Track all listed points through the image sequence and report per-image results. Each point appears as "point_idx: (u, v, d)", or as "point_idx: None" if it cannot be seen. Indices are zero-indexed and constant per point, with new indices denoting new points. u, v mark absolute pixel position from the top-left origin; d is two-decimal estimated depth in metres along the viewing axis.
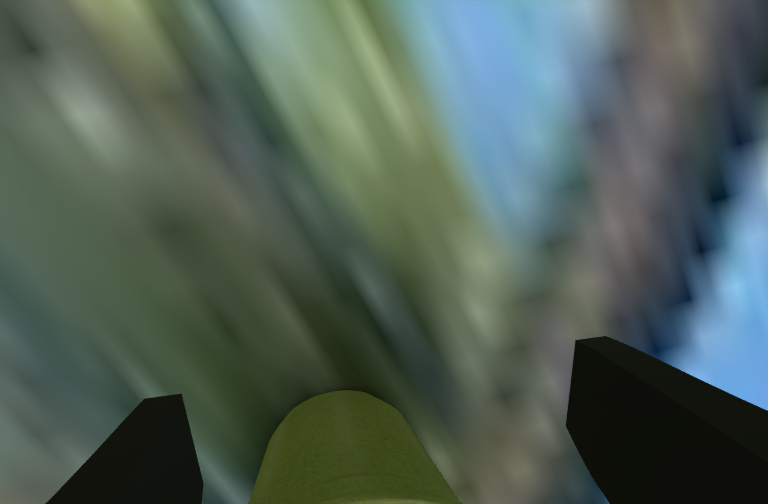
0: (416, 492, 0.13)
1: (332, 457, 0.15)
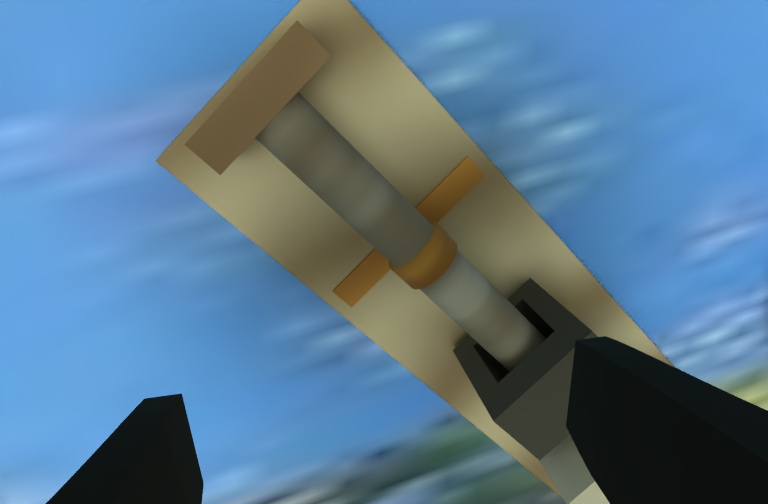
0: None
1: None
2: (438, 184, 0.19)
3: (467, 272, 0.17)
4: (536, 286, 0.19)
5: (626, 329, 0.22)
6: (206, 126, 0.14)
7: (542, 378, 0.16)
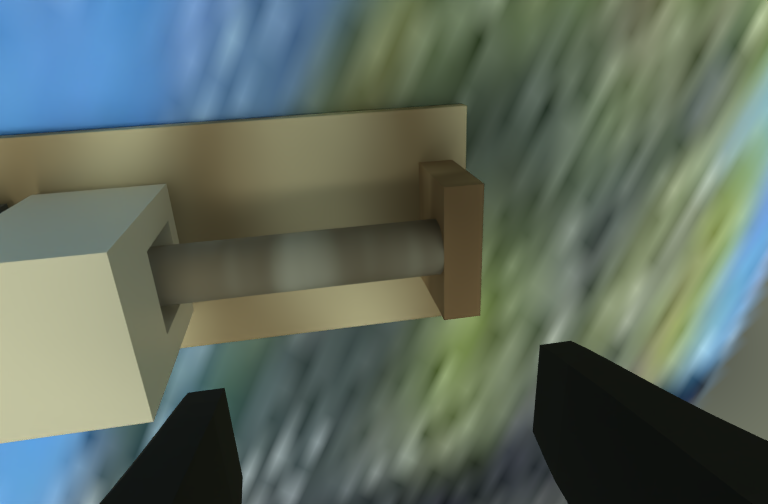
0: None
1: None
2: None
3: None
4: None
5: (100, 146, 0.16)
6: None
7: None
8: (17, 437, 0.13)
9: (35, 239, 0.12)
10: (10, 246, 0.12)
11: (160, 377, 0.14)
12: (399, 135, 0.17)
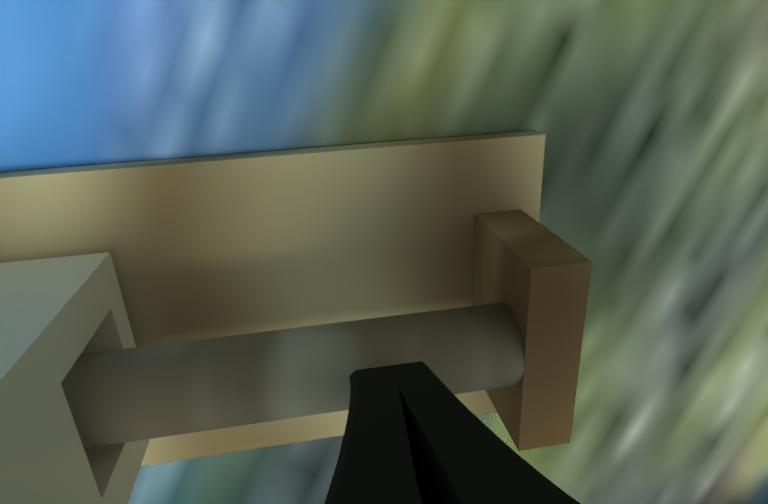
0: None
1: None
2: None
3: None
4: None
5: (9, 199, 0.11)
6: None
7: None
8: None
9: None
10: None
11: None
12: (449, 177, 0.12)
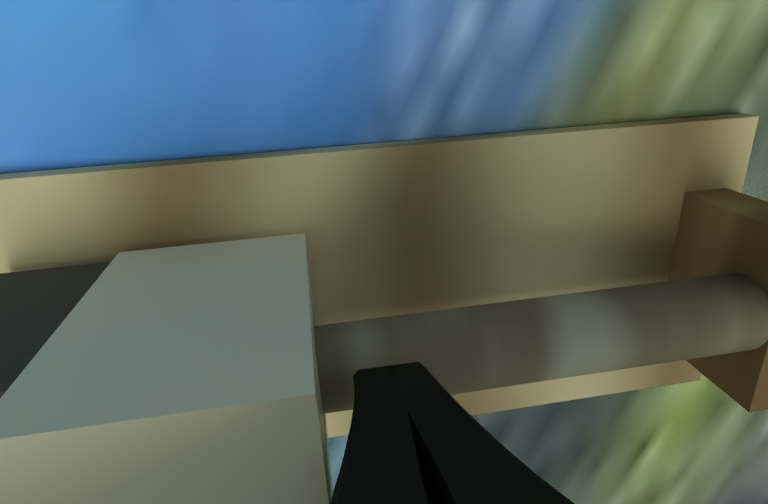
0: None
1: None
2: None
3: None
4: None
5: (283, 176, 0.12)
6: None
7: None
8: None
9: (171, 354, 0.07)
10: (136, 371, 0.07)
11: None
12: (668, 156, 0.13)
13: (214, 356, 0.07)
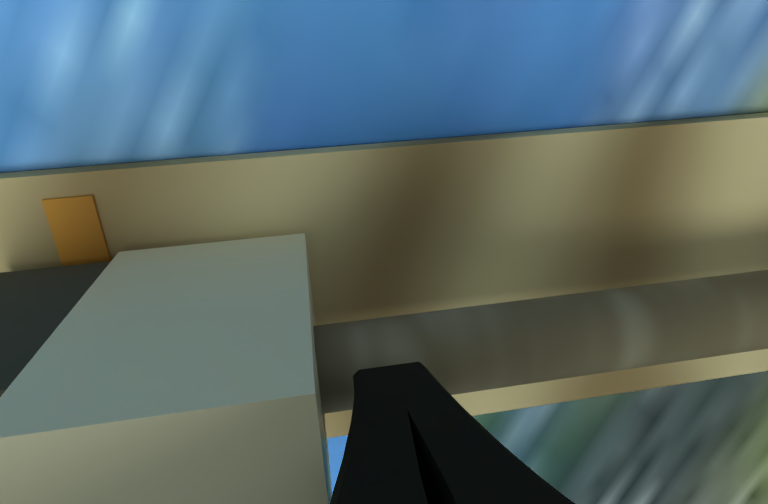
0: None
1: None
2: (62, 260, 0.11)
3: None
4: None
5: (525, 155, 0.12)
6: None
7: None
8: None
9: (171, 353, 0.07)
10: (135, 370, 0.07)
11: None
12: None
13: (214, 356, 0.07)
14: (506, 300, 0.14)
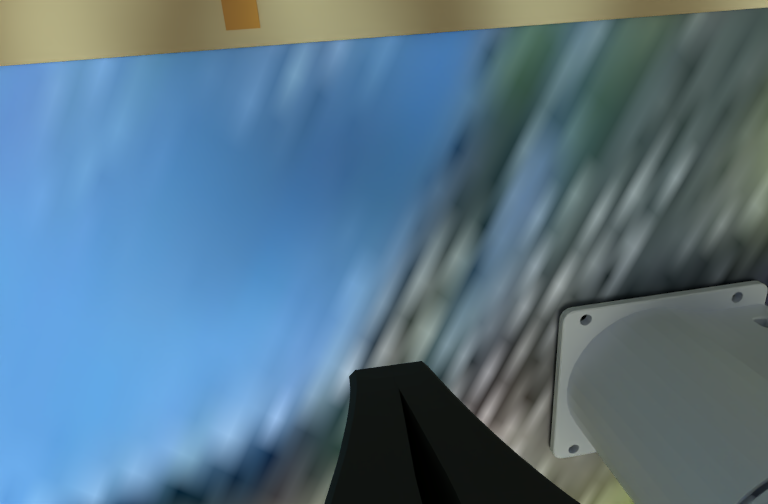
0: None
1: None
2: None
3: None
4: None
5: None
6: None
7: None
8: None
9: None
10: None
11: None
12: None
13: None
14: None
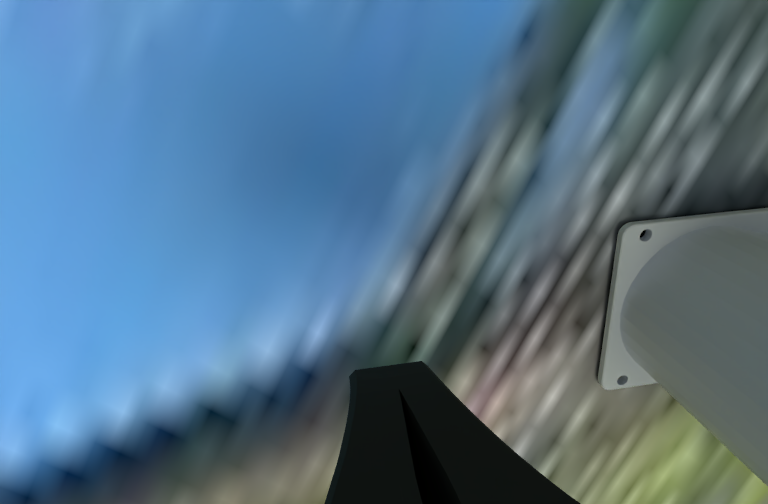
0: None
1: None
2: None
3: None
4: None
5: None
6: None
7: None
8: None
9: None
10: None
11: None
12: None
13: None
14: None
